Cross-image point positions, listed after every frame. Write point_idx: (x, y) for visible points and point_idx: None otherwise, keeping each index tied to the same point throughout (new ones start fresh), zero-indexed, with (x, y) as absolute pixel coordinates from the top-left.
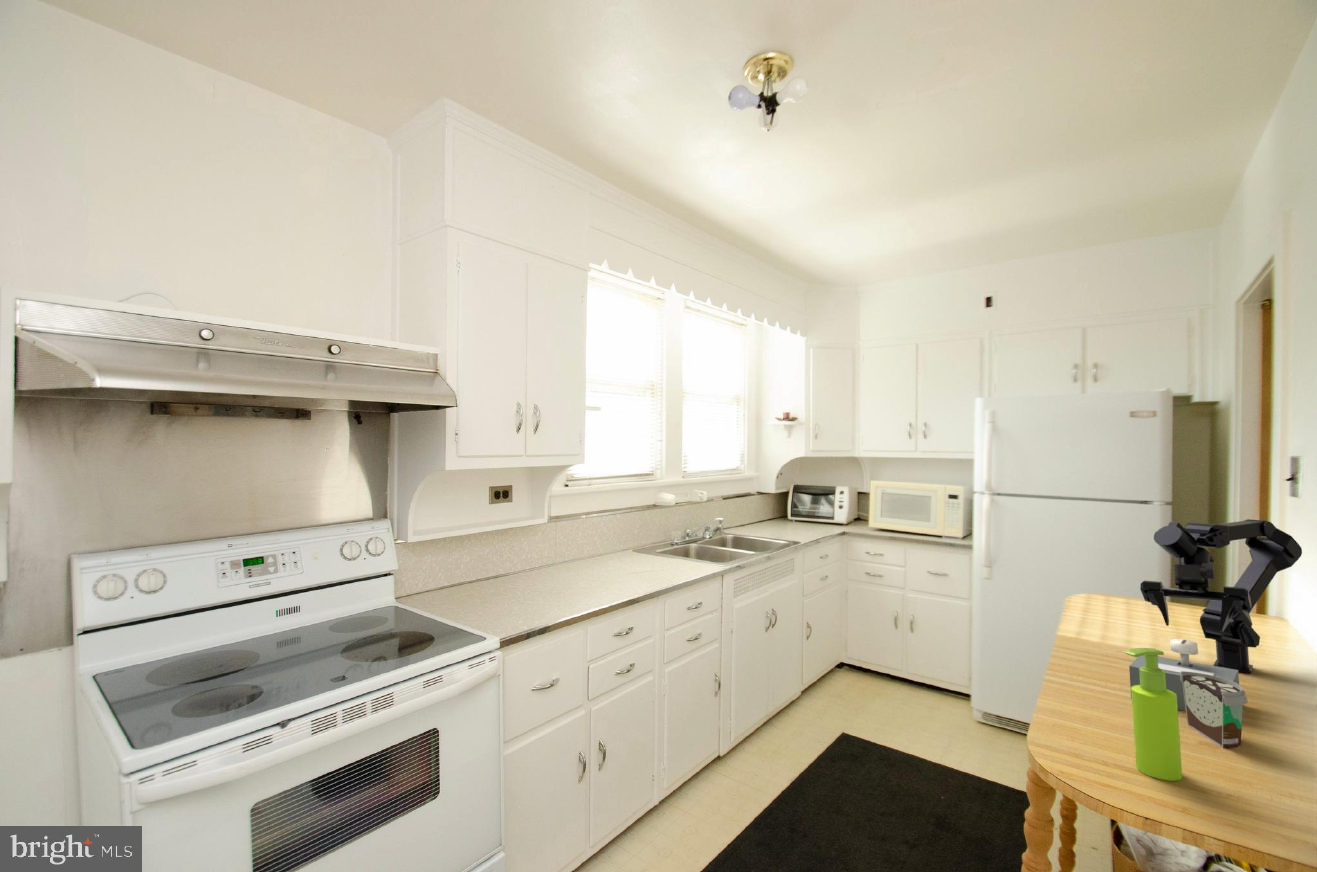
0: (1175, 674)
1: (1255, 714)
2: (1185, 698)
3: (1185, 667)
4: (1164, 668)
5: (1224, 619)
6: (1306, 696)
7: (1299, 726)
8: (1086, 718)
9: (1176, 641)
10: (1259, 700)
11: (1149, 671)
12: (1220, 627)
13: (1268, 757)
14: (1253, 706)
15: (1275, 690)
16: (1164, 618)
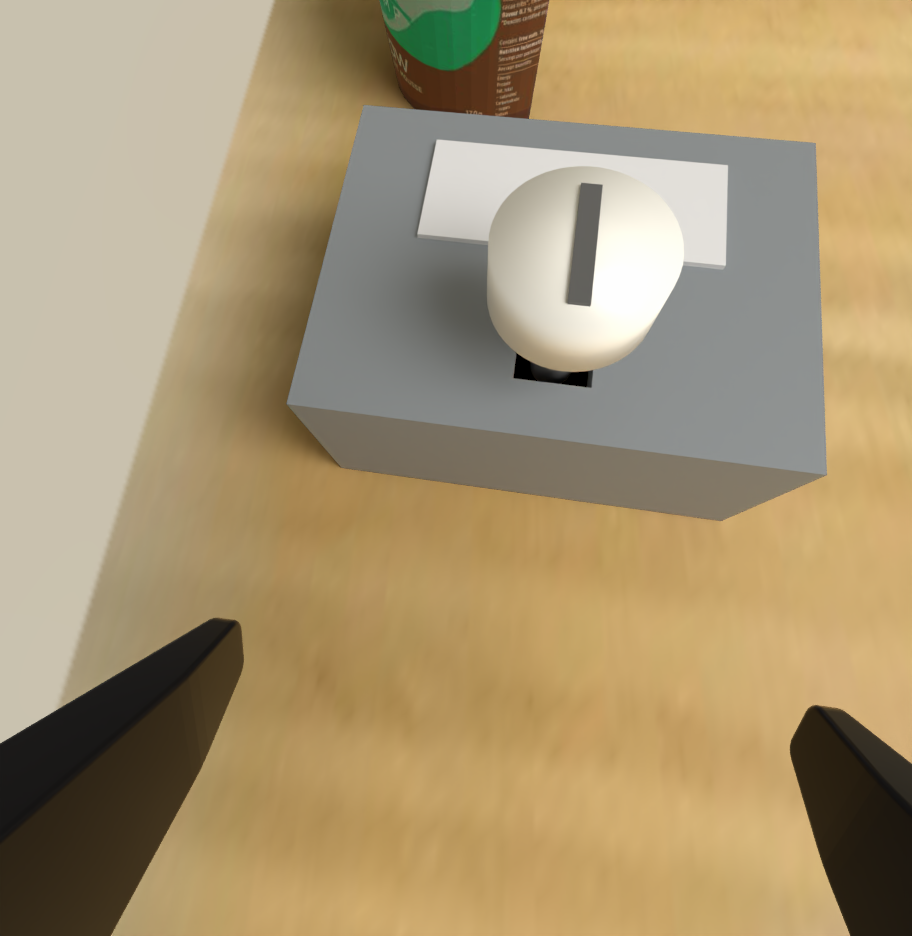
0: (592, 128)
1: None
2: (541, 22)
3: None
4: (649, 178)
5: (74, 707)
6: None
7: (195, 319)
8: (804, 3)
9: (636, 232)
10: (256, 585)
11: None
12: (216, 632)
13: (345, 14)
14: (298, 470)
15: None
16: (906, 765)
